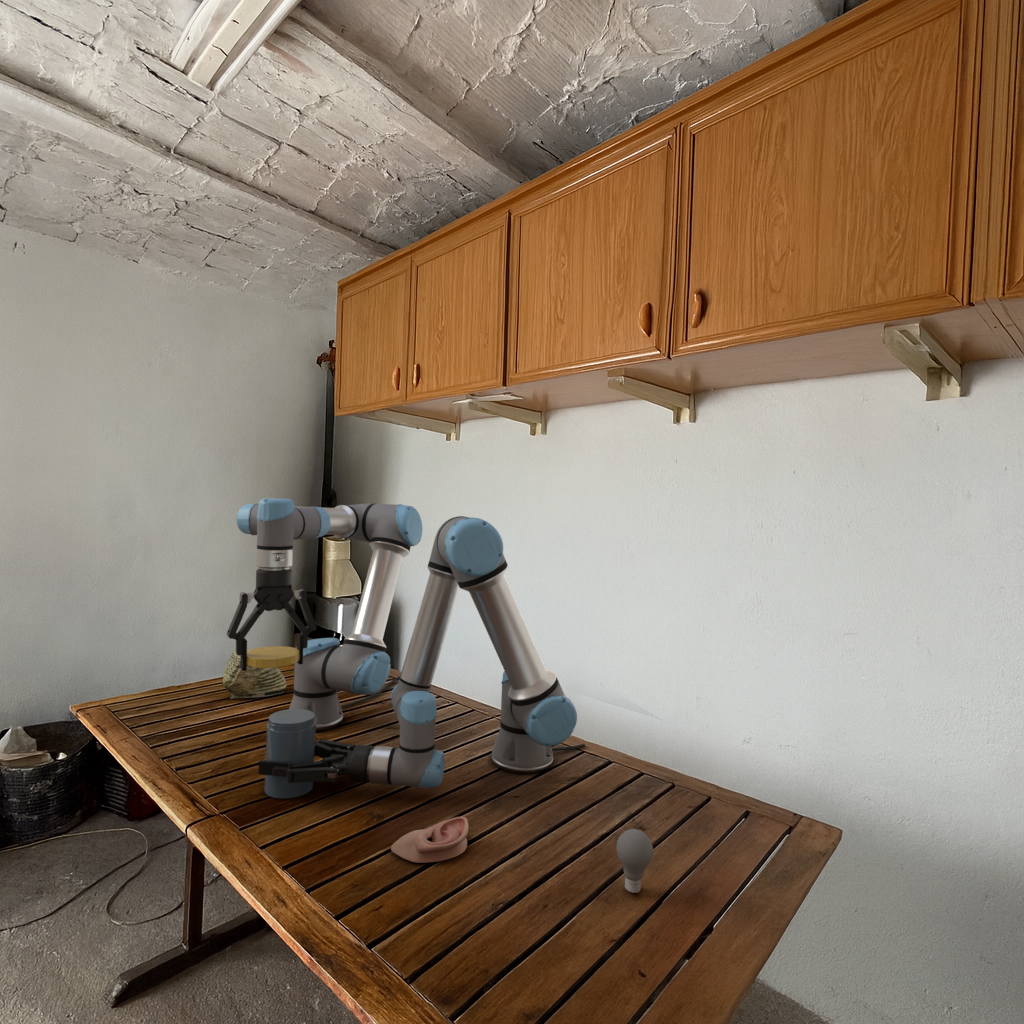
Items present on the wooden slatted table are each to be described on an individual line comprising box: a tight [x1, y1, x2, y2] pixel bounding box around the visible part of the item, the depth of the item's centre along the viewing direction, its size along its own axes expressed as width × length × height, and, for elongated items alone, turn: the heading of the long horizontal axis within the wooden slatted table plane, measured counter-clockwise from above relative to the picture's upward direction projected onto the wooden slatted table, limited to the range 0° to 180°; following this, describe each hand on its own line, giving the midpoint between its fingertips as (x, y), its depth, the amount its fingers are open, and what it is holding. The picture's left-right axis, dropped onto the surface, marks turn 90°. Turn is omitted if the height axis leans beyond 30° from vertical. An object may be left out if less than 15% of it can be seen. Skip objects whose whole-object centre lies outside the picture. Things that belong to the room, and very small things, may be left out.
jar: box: [263, 708, 317, 799], centre depth 137 cm, size 10×10×16 cm
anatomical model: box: [390, 816, 469, 864], centre depth 116 cm, size 13×4×12 cm
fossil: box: [222, 647, 288, 699], centre depth 198 cm, size 9×18×15 cm, turn 132°
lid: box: [247, 645, 300, 668], centre depth 141 cm, size 11×11×2 cm
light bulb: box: [615, 828, 654, 894], centre depth 106 cm, size 6×6×10 cm
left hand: (272, 666), depth 141 cm, fingers closed on lid, 11 cm apart
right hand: (271, 756), depth 137 cm, fingers closed on jar, 10 cm apart
